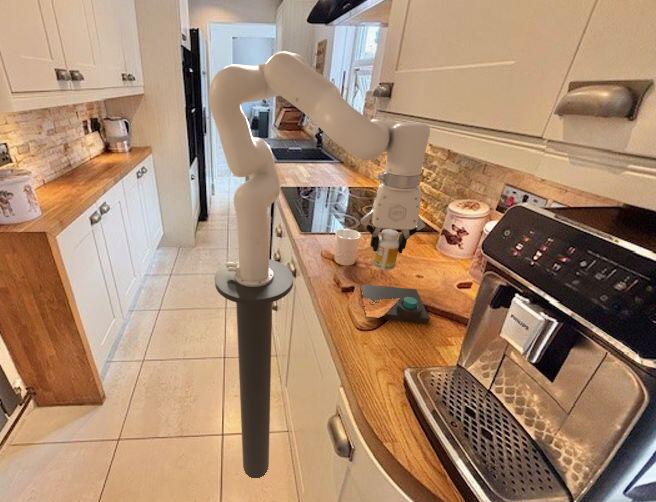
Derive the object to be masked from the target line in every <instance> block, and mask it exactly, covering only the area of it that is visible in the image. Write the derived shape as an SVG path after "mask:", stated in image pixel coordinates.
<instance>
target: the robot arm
mask: <svg viewBox="0 0 656 502" xmlns="http://www.w3.org/2000/svg"><path fill="white" fill-rule="evenodd" d="M276 97H281V98H282V99H284V100H286V101H287V102H288V103H289V104H291V105H292V106H294V107H295V108H296V109H298V110H299V111H300V112H302V113H303V114H304V115H306V116H307V117H309V118H310V119H311V120H312V121H313V122H314V124H315V125H316V126H317V127H318V128H319V129H320V130H321V131H322V132H323V133H324V134H325V135H326V136H327V137H328V138H330V139H331V140H332V141H333V142H334V143H335V144H336V145H338V146H339V147H341V148H342V149H343V150H345V151H346V152H347V153H349V154H350V155H352V156H354V157H355V158H357V159H359V160H363V161H373V160H375V159H377V158H379V157H381V156H382V155H383V153H386V154H387V158H386V164H385V168H384V171H383V173H381V174H377V176H376V180H377V181H380V184H379V186H378V188H377V190H376V193H375V197H374V200H373V204H372V208H371V210H370V211H368V212H367V214H365V215H363V217H362V218H361V219H360V220H359V221H360V224H361V225H362V226H363V227H364V228H365V229H366V230H367V231H368V232H369V233H370V234H371V239H370V243H369V244H370V247H371V248H372V251H373V252H375V251H377V247H378V242H379V238H380V237H379V234H380V232H381V231H382V230H385V229H391V230H400V231H401V233H400V234H399V235H398V239H397V240H398V241H399V249H398V254H403V250H405V249H406V247H407V241H408V240H409V239H410V237H412V236H413V235H414V234H416V233H417V232H418V231H421V230H422V229H424V228H426V224H425V222H424V221H423V219H422V218H421V217H420V210H421V201H422V187H420V186H419V182H420V178H421V173H422V169H423V164H424V160H425V155H426V152H427V147H428V143H429V137H430V134H431V127H430V126H429V125H428V124H426V123H423V122H416V121H414V122H413V121H406V122H405V121H404V122H396V121H395V122H394V121H388V120H383V119H382V120H381V119H371V120H370V119H369V118H367V117H366V116H365V115H364V114H362V113H361V112H360V111H358V110H357V109H356V108H354V107H353V106H352V105H350V104H349V102H347V100H345V99H344V97H343V96H342V94H341V92H340V89H339V88H338V87H337V85H336V84H334V82H332V81H330V80H329V79H327V77H325V76H323V75H322V74H321V73H319V72H318V71H316V70H315V69H314V68H312V67H310V65H309V63H308V61H307V59H305V58H304V57H303V56H302V55H301V54H298V53H295V52H290V51H279V52H275V53H274V54H273V55H272V56H270V57H269V59H268V60H267V62H264V63H260V64H257V65H256V64H255V65H247V64H230V65H226V66H225V67H223V68H220V70H219V71H218V72H217V73H216V74H215V75H214V76H213V79H212V80H211V83H210V86H209V90H208V104H209V110H210V112H211V116H212V118H213V120H214V123H215V126H216V130H217V132H218V135H219V140H220V143H221V146H222V150H223V153H224V156H225V157H224V158H225V160H226V163H227V166H228V169H229V171H230V172H231V173H232V174H233V176H235V177H237V178H246V177H248V180H246V181H244V182H243V183H242V184H240V185H239V186H238V187H237V189H236V190H235V193H234V195H233V207H234V210H235V211H234V212H235V216H236V224H237V245H238V250H237V251H238V259H239V262H236V263H233V262H232V261H227V262H226V263H225V264H226V267H227V268H228V271H235V280H236V281H237V282H238V283H239V284H241V285H244V286H248V287H260V286H264V285H266V284H268V283H270V282H271V281H272V280H273V271H272V270H271V269H270V268H269V259H270V220H269V216H268V208H269V207H270V206H271V205H272V204H274V202H276V201H277V199H278V198H279V197H280V193H281V183H280V182H281V181H280V179H279V174H278V170H277V166H276V162H275V159H274V154H273V152H272V149H271V147H270V145H269V144H268V143H267V142H266V140H265V139H263V138H261V137H258V136H253V134H252V130H251V127H250V126H251V125H250V122H249V120H248V118H247V115H246V114H245V112H244V110H243V108H242V105H243V104H245V103H253V102H259V101H264V100H267V99H272V98H276ZM381 182H382V183H381ZM370 220H371V223H370Z"/></svg>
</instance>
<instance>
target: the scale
mask: <svg viewBox="0 0 656 502" xmlns="http://www.w3.org/2000/svg"><path fill="white" fill-rule="evenodd" d="M361 287H362V290H361ZM362 292H363V295H362ZM360 295H361V299H362V298H363V297H364V298H365V299H366V298H367V299H368V298H369V299H371V300H372V301H373V302H375V300H380V299H381V300H382V299H392V298H393V299H396V298H400V299H398V301H397V303H396V305H395V306H394V307H393V308H392V309H391V310H390V311H389V312H388V313H386V314H385V315H386V316H382V317H380V318H379V319H378V320H385V321H386V320H387V321H395V322H396V321H397V322H406V323H414V324H424V325H429V322H430V316H429V314H428V312H427V310H426V307H425V305H424V303H423V301H422V299H421V297H420V295H419V292H418V289H416V288H406V287H396V286H385V285H384V286H383V285H375V284H373V285H372V284H360ZM406 297H412V298H414V299H416V300H417V305H416V308H415V309H408V308H405V307H404V306H403V302H404V298H406ZM373 302H372V303H373ZM369 303H370V302H369ZM375 303H379V302H377V301H376V302H375ZM370 304H371V303H370ZM371 305H374V304H371ZM364 307H365V306H363V308H364ZM363 311H364V312H365V310H364V309H363Z"/></svg>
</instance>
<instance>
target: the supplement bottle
mask: <svg viewBox="0 0 656 502" xmlns="http://www.w3.org/2000/svg"><path fill="white" fill-rule="evenodd" d="M399 235H400V234H399V232H398V231H397V230H396V229H381V233H380V237H379V242H378V247H377V251H374V256H373V261H372V265H373V266H374V267H375V269H378V270H381V271H392V270H393V269H395V267H396V262H397V258H398V254H399V252H398V249H399V241H398V239H399Z"/></svg>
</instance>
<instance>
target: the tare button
mask: <svg viewBox="0 0 656 502" xmlns="http://www.w3.org/2000/svg"><path fill="white" fill-rule="evenodd" d="M416 305H417V300H416V299H414V298H412V297H406V298H404V302H403V306H404V307H405V308H408V309H415V308H416Z"/></svg>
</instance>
